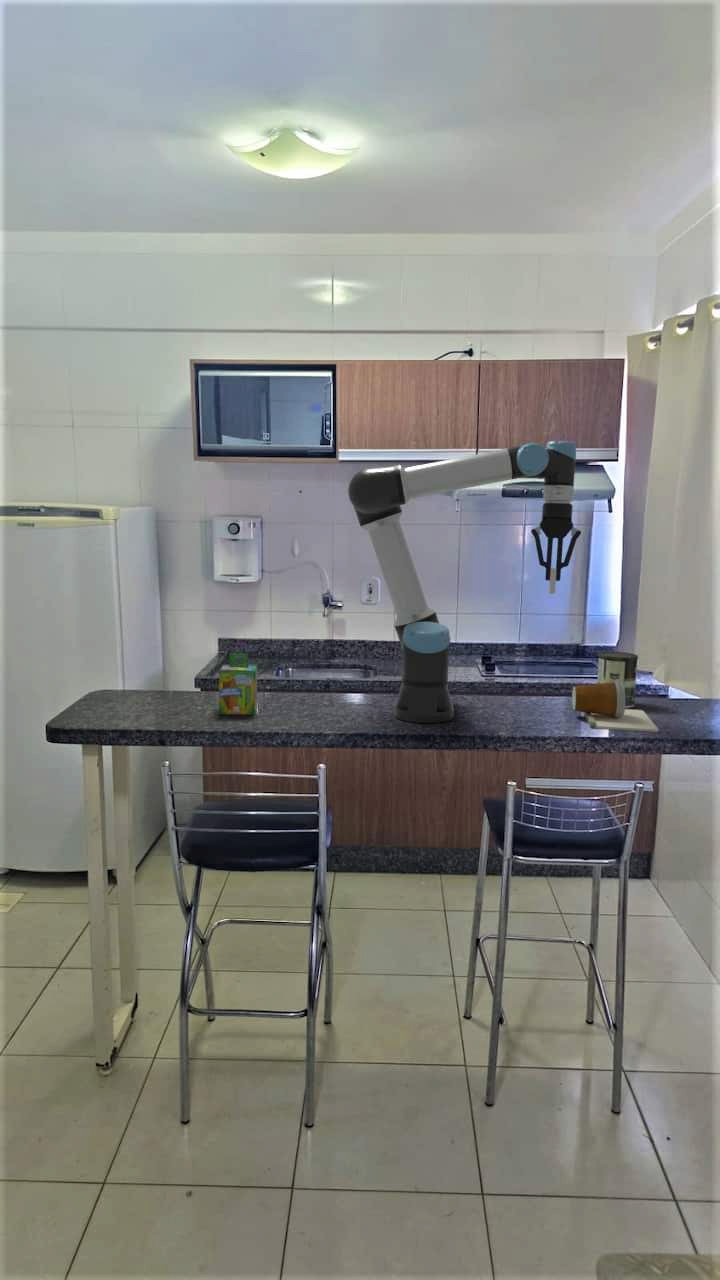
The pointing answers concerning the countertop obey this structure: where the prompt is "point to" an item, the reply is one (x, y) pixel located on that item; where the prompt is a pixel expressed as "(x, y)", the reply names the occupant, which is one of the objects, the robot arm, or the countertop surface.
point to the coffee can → (619, 672)
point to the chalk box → (238, 687)
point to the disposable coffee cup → (600, 699)
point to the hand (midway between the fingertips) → (551, 593)
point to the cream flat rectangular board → (622, 721)
